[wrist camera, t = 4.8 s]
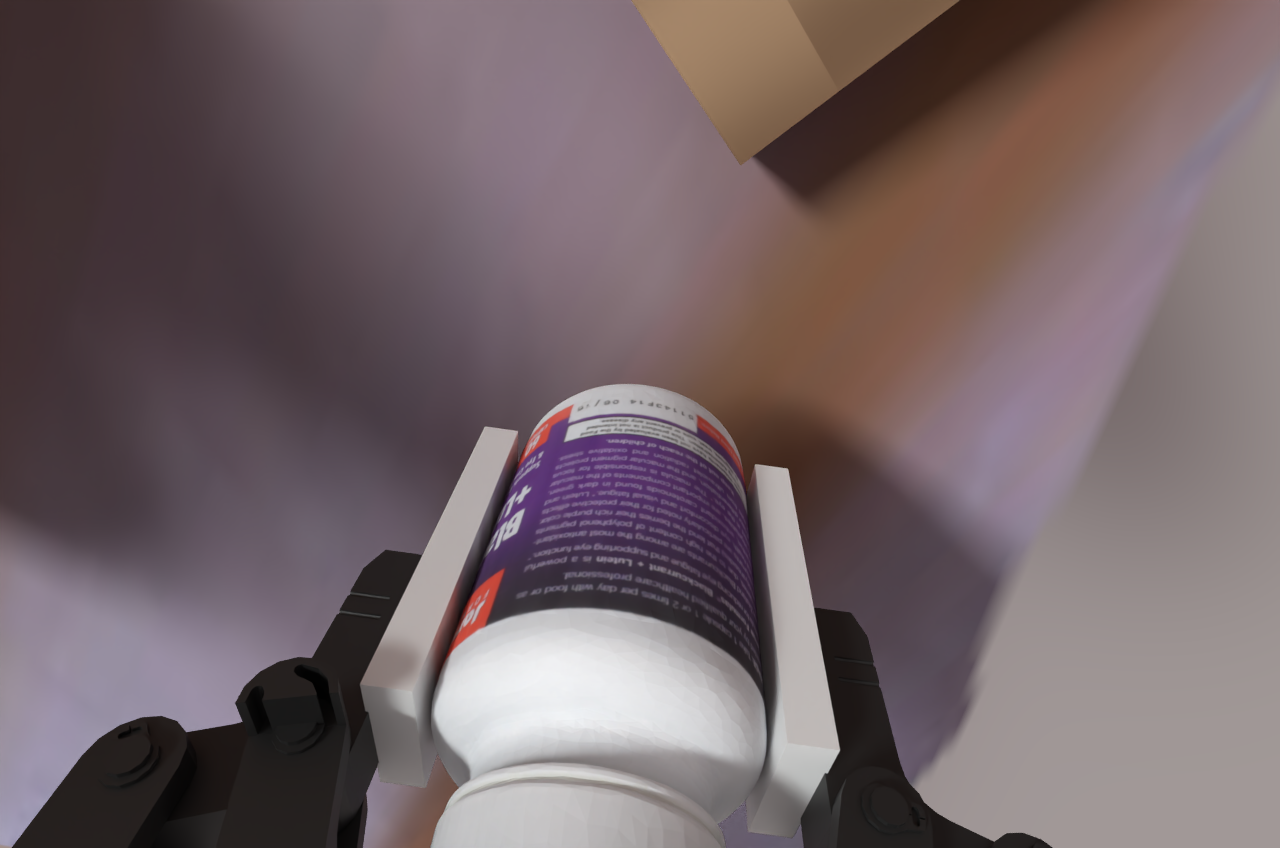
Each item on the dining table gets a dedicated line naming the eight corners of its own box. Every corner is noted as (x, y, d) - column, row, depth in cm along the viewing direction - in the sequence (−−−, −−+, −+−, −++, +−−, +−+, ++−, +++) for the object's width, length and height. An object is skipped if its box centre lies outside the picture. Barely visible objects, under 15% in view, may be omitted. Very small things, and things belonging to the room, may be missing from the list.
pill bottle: (512, 371, 15) (289, 839, 7) (753, 379, 14) (824, 882, 6) (535, 545, 18) (400, 1011, 10) (734, 555, 17) (766, 1047, 9)
